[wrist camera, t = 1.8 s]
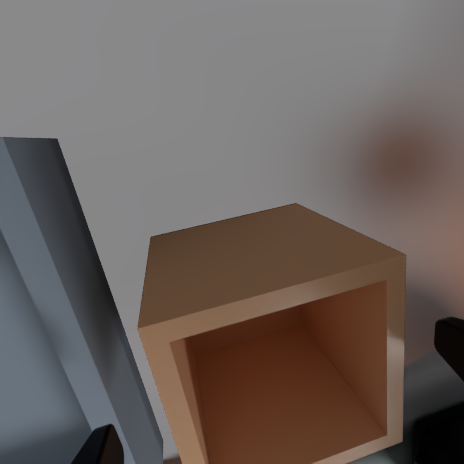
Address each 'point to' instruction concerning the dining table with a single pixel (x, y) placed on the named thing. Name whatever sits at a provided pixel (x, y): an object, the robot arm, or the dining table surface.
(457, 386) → the dining table surface
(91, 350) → the big crate
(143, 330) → the small crate
